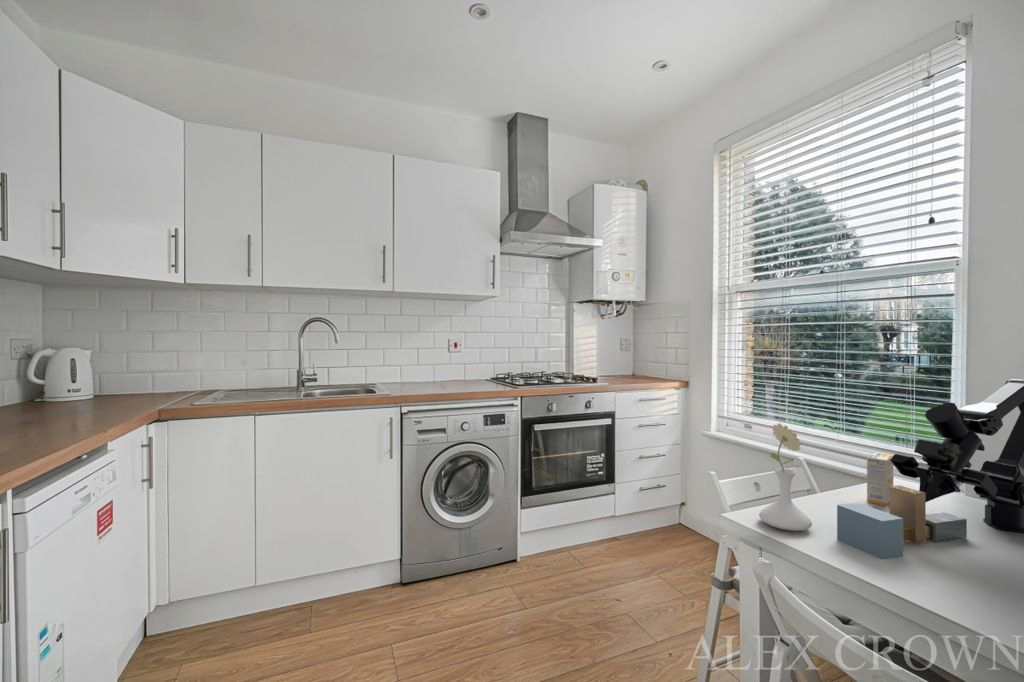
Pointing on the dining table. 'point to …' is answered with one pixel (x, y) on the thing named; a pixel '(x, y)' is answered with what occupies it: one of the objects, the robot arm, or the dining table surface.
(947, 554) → the dining table surface
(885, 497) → the supplement box
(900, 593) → the dining table surface
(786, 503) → the flower in vase
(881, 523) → the blue-grey rectangular block
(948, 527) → the outer sleeve
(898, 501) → the upright wooden plank
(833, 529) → the dining table surface
